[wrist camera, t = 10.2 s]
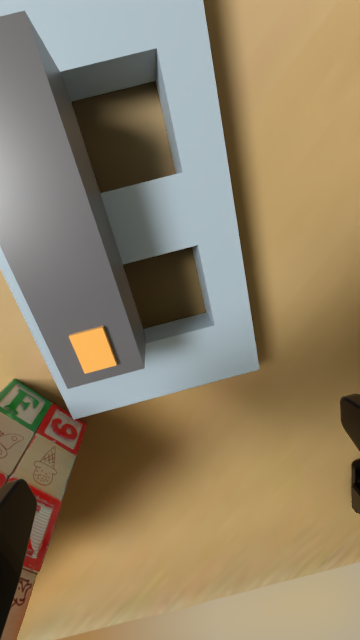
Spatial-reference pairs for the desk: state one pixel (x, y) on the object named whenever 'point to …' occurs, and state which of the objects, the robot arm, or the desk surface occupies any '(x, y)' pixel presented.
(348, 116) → the desk surface
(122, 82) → the keyhole board
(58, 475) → the stack of blocks
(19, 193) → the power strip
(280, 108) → the desk surface
